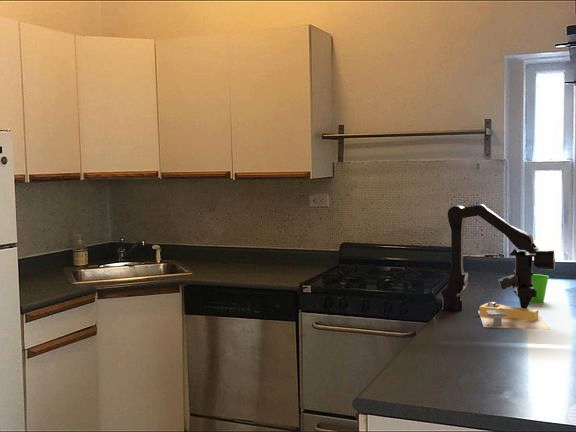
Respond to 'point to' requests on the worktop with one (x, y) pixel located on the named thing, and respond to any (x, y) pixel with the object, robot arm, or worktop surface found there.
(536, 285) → the cup
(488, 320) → the board
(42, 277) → the worktop surface
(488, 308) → the link
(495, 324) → the keeper
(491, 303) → the pintle
